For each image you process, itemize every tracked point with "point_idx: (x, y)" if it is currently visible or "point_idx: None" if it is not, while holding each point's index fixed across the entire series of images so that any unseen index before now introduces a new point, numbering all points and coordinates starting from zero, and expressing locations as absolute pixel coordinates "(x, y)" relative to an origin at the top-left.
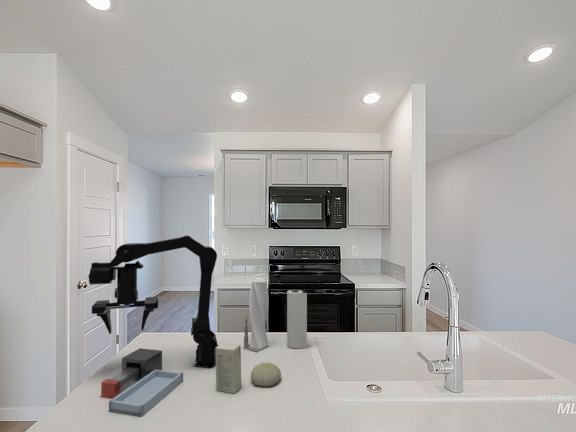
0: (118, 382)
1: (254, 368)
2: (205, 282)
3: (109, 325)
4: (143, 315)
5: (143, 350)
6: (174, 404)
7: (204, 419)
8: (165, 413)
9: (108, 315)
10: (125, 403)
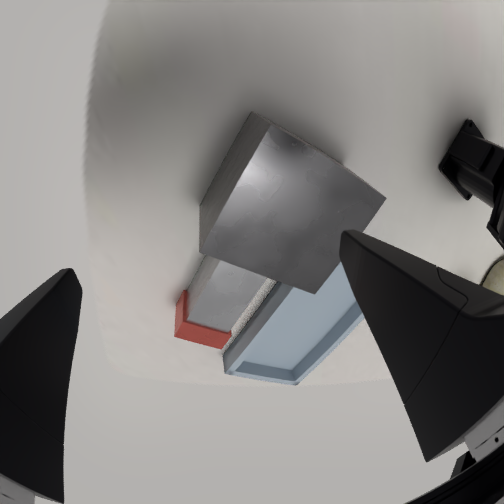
0: (228, 339)
1: (500, 292)
2: None
3: (69, 378)
4: (411, 413)
5: (298, 169)
6: (351, 342)
7: (380, 369)
8: (332, 362)
9: (34, 458)
10: (263, 379)
